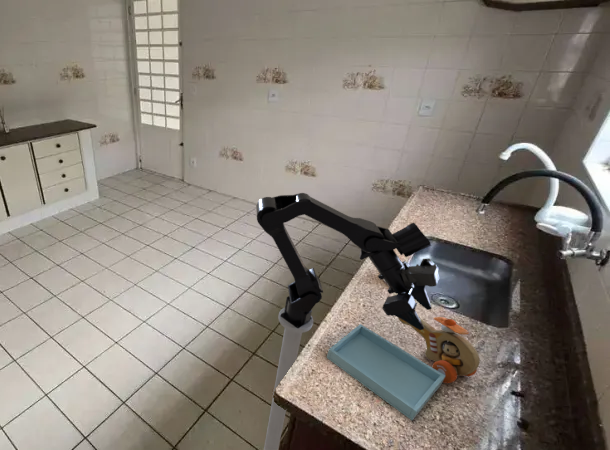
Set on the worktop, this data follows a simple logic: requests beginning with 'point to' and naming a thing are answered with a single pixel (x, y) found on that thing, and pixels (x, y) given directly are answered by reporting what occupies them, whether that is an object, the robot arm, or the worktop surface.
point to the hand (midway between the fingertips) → (426, 319)
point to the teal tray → (386, 370)
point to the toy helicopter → (449, 349)
